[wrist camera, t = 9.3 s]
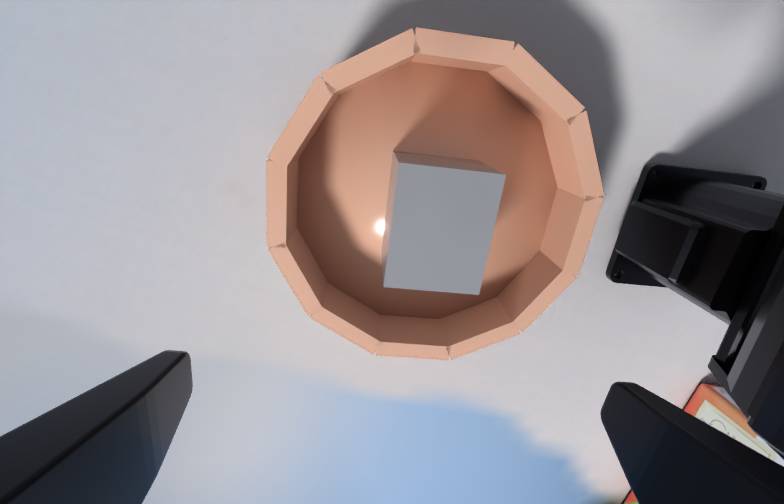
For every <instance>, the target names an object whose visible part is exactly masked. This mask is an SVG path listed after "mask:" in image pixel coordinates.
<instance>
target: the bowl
mask: <svg viewBox="0 0 784 504" xmlns="http://www.w3.org/2000/svg"><path fill="white" fill-rule="evenodd" d="M514 43H515V42H514V41H507V40H500V39H493V38H486V37H479V36H473V35H466V34H459V33H452V32H445V31H438V30H432V29H425V28H418V27H416V29H415V31H414V32H413V29H412V28H411V29H409V30H407V31H405V32H403V33H401V34H399V35H397V36H394V37H392V38H390V39H388V40H386V41H384V42H382V43H380V44H378V45H376V46H374V47H372V48H370V49H368V50H366V51H364V52H362V53H359V54H357V55H355V56H353V57H351V58H349V59H347V60H345V61H343V62H341V63H339V64H337V65H335V66H333V67H331V68H329V69H326V70H324V71H322V72H320V73H321V75H322V77H323V78H321V77H320V76H318V75H317V77H316V78H315V80H314V82H313V83H312V85H311V86H310V88H309V90H308V91H307V93H306V95H305V96H304V98H303V100H302V101H301V103H300V104H299V106H298V108H297V109H296V111H295V113H294V114H293V116H292V117H291V119H290V121H289V122H288V124H287V126H286V127H285V129H284V131H283V132H282V134H281V135H280V137H279V139H278V140H277V142H276V144H275V145H274V147H273V148H272V150H271V152H270V153H269V155H268V158H269V160H267V161H266V194H267V247H269V249H268V251H269V252H270V254H271V256H272V257H273V259H274V261H275V262H276V264H277V266H278V267H279V269H280V271H281V272H282V274H283V276H284V277H285V279H286V281H287V282H288V284H289V285H290V287H291V289H292V290H293V292H294V294H295V295H296V297H297V299H298V300H299V302H300V304H301V305H302V307H303V309H304V310H305V312H306V314H307V315H308V316H309V315H311V317H310V318H311V319H313V320H315V321H316V322H318V323H320V324H321V325H323V326H325V327H327V328H328V329H330V330H332V331H334V332H335V333H337V334H339V335H340V336H342V337H344V338H346V339H347V340H349V341H351V342H353V343H354V344H356V345H358V346H359V347H361V348H363V349H365V350H366V351H368V352H370V353H372V354H374V353H375V352H376V355H379V356H393V357H408V358H423V359H438V360H448V359H449V356H450V359H451V360H452V359H454V358H457V357H460V356H462V355H465V354H468V353H470V352H473V351H476V350H478V349H481V348H484V347H486V346H489V345H491V344H494V343H497V342H499V341H502V340H505V339H507V338H510V337H513V336H515V335H518V334H520V332H519V330H520V331H522V332H523V331H524V330H525V329H526V328H527V327H528V326H529V325H530V324H531V323H532V322H533V321H534V320H535V319H536V318H537V317H538V316H539V315H540V314H541V313H542V312H543V311H544V310H545V309H546V308H547V307H548V306H549V305H550V304H551V303H552V302H553V301H554V300H555V299H556V298H557V297H558V296H559V295H560V294H561V293H562V292H563V291H564V290H565V289H566V288H567V287H568V286H569V285H570V284H571V283H572V282H573V281H574V280H575V279H576V278H577V277H576V276H575V275H573V274H576V275H579V272H580V269H581V266H582V263H583V260H584V257H585V254H586V251H587V248H588V245H589V242H590V239H591V236H592V233H593V230H594V227H595V224H596V221H597V218H598V215H599V212H600V209H601V206H602V203H603V200H604V198H603V197H600V196H602V195H604V191H603V186H602V181H601V177H600V172H599V167H598V162H597V158H596V153H595V148H594V143H593V139H592V134H591V129H590V124H589V120H588V115H587V111H582V110H583V109H584V108H585V107H584V106H583V105H582V104H581V103H580V102H579V101H578V100H577V99H576V98H575V97H574V96H572V95H571V94H570V93H569V92H568V91H567V90H566V89H565V88H564V87H563V86H562V85H561V84H560V83H559V82H558V81H557V80H556V79H555V78H554V77H553V76H552V75H551V74H550V73H549V72H548V71H547V70H545V69H544V68H543V67H542V66H541V65H540V64H539V63H538V62H537V61H536V60H535V59H534V58H533V57H532V56H531V55H530V54H529V53H528V52H527V51H526V50H525V49H524V48H523V47H522V46H521V45H520V44H516V45H514ZM393 150H394V151H402V152H411V153H420V154H428V155H437V156H446V157H454V158H463V159H471V160H478V161H480V162H482V163H484V164H486V165H488V166H490V167H492V168H494V169H496V170H498V171H500V172H502V173H504V174H506V179H505V183H504V187H503V192H502V196H501V201H500V205H499V209H498V214H497V218H496V223H495V227H494V231H493V236H492V240H491V245H490V249H489V253H488V258H487V262H486V267H485V271H484V275H483V280H482V284H481V288H480V293H479V295H473V294H461V293H449V292H437V291H425V290H413V289H401V288H389V287H383V270H382V253H381V250H382V241H383V233H384V224H385V215H386V206H387V198H388V189H389V180H390V171H391V163H392V154H393Z"/></svg>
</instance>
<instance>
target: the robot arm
mask: <svg viewBox="0 0 784 504" xmlns="http://www.w3.org/2000/svg"><path fill="white" fill-rule="evenodd" d="M655 170H656V174H655V176H654V177H653V178H652V173H653V172H654V171H655ZM753 184H754V186H753ZM766 185H767V181H766V179H765V178H763V177H760V176H754V175H746V174H738V173H730V172H721V171H713V170H705V169H696V168H688V167H680V166H672V165H663V164H655V163H654V164H649V165H647V166H646V167H645V168H644V169H643V171H642V173H641V176H640V179H639V182H638V184H637V187H636V190H635V193H634V195H633V198H632V201H631V204H630V206H629V208H628V211H627V214H626V217H625V220H624V222H623V225H622V228H621V231H620V233H619V236H618V239H617V242H616V245H615V248H614V251H613V254H612V257H611V259H610V262H609V265H608V268H607V270H606V276H607V277H608V278H609V279H610V280H611V281H613V282H615V283H624V284H635V285H647V286H658V287H668V288H670V289H671V290H673V291H675V292H676V293H678V294H679V295H681V296H683V297H684V298H686V299H688V300H689V301H691V302H692V303H694V304H696V305H697V306H699V307H701V308H702V309H704V310H706V311H707V312H709V313H710V314H712V315H714V316H715V317H717V318H719V319H720V320H722V321H724V322H725V323H727V324H728V325H729V327H728V329H727V331H726V333H725V336H724V338H723V340H722V342H721V345H720V347H719V349H718V351H717V354H716V355H713V356H712V358H711V360H710V362H709V364H708V368H709V369H710V370H711V372H712V373H713V374H714V376H715V377H716V378H717V380H718V381H719V382H720V383H721V385H722V386H723V387H724V389H725V390H726V391H727V393H728V394H729V395H730V397H731V398H732V399H733V401H734V402H735V403H736V405H737V406H738V407H739V408H740V410H741V411H742V412H743V414H744V415H745V416H746V418H747V424H748V425H749V427H750V428H751V429H752V430H753V432H754V433H755V434H757V435H758V436H759V437H760V438H762V439H763V440H764V441H765V442H766V443H767V444H768V445H769V446H770V447H771V449H773V450H774V451H775V452H776V453H777V454H778V455H779V456H780V457H781V458H782V459H783V460H784V195H782V194H777V193H772V192H768V191H764V190H765V188H766ZM752 186H753V187H752ZM617 271H619V273H618V274H617V275H615V273H616V272H617ZM192 386H193V385H192V371H191V359H190V355H189V353H187V352H185V351H173V350H166V351H163V352H161V353H159V354H157V355H155V356H154V357H152V358H150V359H148V360H146V361H144V362H142V363H140V364H138V365H136V366H135V367H132V368H131V369H129V370H127V371H125V372H123V373H121V374H119V375H117V376H115V377H113V378H112V379H110V380H108V381H106V382H104V383H102V384H100V385H98V386H96V387H94V388H92V389H90V390H88V391H87V392H85V393H83V394H81V395H79V396H77V397H75V398H73V399H71V400H69V401H67V402H66V403H64V404H62V405H60V406H58V407H56V408H54V409H52V410H50V411H48V412H46V413H44V414H42V415H41V416H39V417H37V418H35V419H33V420H31V421H29V422H27V423H25V424H23V425H22V426H19V427H18V428H16V429H14V430H12V431H10V432H8V433H6V434H4V435H2V436H0V504H142V502H143V501H144V499H145V496H146V495H147V493H148V491H149V490H150V488H151V486H152V483H153V482H154V480H155V478H156V476H157V474H158V472H159V469H160V467H161V465H162V463H163V460H164V458H165V456H166V453H167V451H168V449H169V446H170V444H171V442H172V439H173V437H174V434H175V432H176V430H177V427H178V425H179V422H180V420H181V418H182V415H183V413H184V411H185V408H186V406H187V403H188V401H189V399H190V396H191V393H192ZM601 420H602V423H603V425H604V427H605V430H606V432H607V434H608V437H609V439H610V441H611V444H612V446H613V448H614V450H615V453H616V455H617V457H618V460H619V462H620V464H621V466H622V469H623V471H624V473H625V476H626V478H627V480H628V482H629V485H630V487H631V489H632V491H633V493H634V495H635V497H636V499H637V501H638V503H639V504H784V467H783V466H782V465H780V464H778V463H776V462H774V461H773V460H771V459H769V458H767V457H766V456H764V455H762V454H760V453H758V452H757V451H755V450H753V449H751V448H750V447H748V446H746V445H744V444H742V443H741V442H739V441H737V440H735V439H734V438H732V437H730V436H728V435H726V434H725V433H723V432H721V431H719V430H718V429H716V428H714V427H712V426H711V425H709V424H707V423H705V422H703V421H702V420H700V419H698V418H696V417H695V416H693V415H691V414H689V413H687V412H686V411H684V410H682V409H680V408H679V407H677V406H675V405H673V404H671V403H670V402H668V401H666V400H664V399H663V398H661V397H659V396H657V395H655V394H654V393H652V392H650V391H648V390H647V389H645V388H643V387H641V386H639V385H638V384H635V383H631V382H615V383H614V384H613V385H612V386H611V388H610V390H609V392H608V395H607V397H606V399H605V401H604V404H603V406H602V409H601Z"/></svg>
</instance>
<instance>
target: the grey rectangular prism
mask: <svg viewBox="0 0 784 504" xmlns="http://www.w3.org/2000/svg"><path fill="white" fill-rule="evenodd" d="M505 179H506V174H504V173H502V172H500V171H498V170H496V169H494V168H492V167H490V166H488V165H486V164H484V163H482V162H480V161H478V160H471V159H463V158H454V157H446V156H437V155H428V154H420V153H411V152H402V151H394V150H393V154H392V163H391V171H390V180H389V189H388V198H387V206H386V215H385V224H384V233H383V241H382V250H381V253H382V270H383V287H389V288H401V289H413V290H425V291H437V292H449V293H461V294H473V295H479V293H480V288H481V284H482V280H483V275H484V271H485V267H486V262H487V258H488V253H489V249H490V245H491V240H492V236H493V231H494V227H495V223H496V218H497V214H498V209H499V205H500V201H501V196H502V192H503V187H504V183H505Z"/></svg>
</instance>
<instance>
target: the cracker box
mask: <svg viewBox="0 0 784 504" xmlns="http://www.w3.org/2000/svg"><path fill="white" fill-rule="evenodd" d="M684 411H686V412H687V413H689V414H691V415H693V416H695V417H696V418H698V419H700V420H702V421H703V422H705V423H707V424H709V425H711V426H712V427H714V428H716V429H718V430H719V431H721V432H723V433H725V434H726V435H728V436H730V437H732V438H734V439H735V440H737V441H739V442H741V443H742V444H744V445H746V446H748V447H750V448H751V449H753V450H755V451H757V452H758V453H760V454H762V455H764V456H766V457H767V458H769V459H771V460H773V461H774V462H776V463H778V464H780V465H782V466H783V467H784V460H783V459H782V458H781V457H780V456H779V455H778V454H777V453H776V452H775V451H774V450H773V449H771V447H770V446H769V445H768V444H767V443H766V442H765V441H764V440H763V439H762V438H760V437H759V436H758V435H757V434H755V433H754V432H753V430H752V429H751V428H750V427H749V425H748V424H747V418H746V416H745V415H744V414H743V412H742V411H741V410H740V408H739V407H738V406H737V405H736V403H735V402H734V401H733V399H732V398H731V397H730V395H729V394H728V393H727V391H726V390H725V389H724V387H723V386H717V385H711V384H705V383H702V384H700V385H699V386H698V388H697V390H696V391H695V393H694V395H693V396H692V398H691V399H690V401H689V403H688V404H687V406H686V407H685V409H684ZM624 504H639V503H638V501H637V499H636V497H635V495H634V493H633V491H631V493H630V494H629V496H628V497H627V499H626V501H625V502H624Z"/></svg>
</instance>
